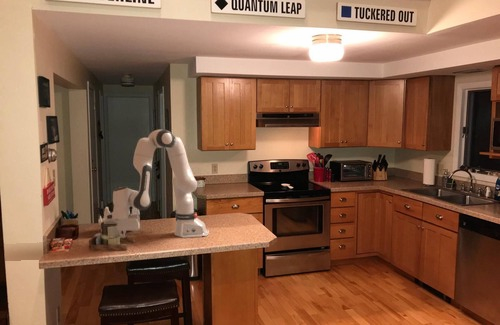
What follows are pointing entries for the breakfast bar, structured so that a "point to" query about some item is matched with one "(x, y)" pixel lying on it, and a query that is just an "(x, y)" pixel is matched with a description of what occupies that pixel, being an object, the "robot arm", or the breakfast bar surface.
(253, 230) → the breakfast bar surface
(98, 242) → the pusher
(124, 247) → the brown tray
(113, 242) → the coffee can
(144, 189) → the robot arm
